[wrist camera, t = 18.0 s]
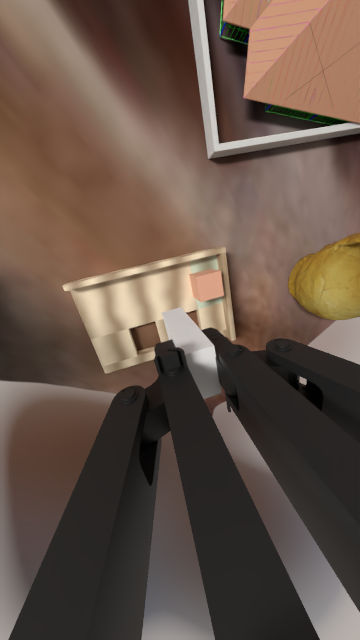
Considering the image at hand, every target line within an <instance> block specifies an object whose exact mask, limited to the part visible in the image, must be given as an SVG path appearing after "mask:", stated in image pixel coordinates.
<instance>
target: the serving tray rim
mask: <svg viewBox="0 0 360 640" xmlns="http://www.w3.org/2000/svg"><path fill="white" fill-rule="evenodd" d="M188 2H189V10H190V18H191V26H192V34H193V42H194V49H195V57H196V65H197V73H198V81H199V89H200V97H201V105H202V113H203V121H204V128H205V136H206V144H207V152H208V159H212V158H218V157H223V156H229V155H235V154H241V153H247V152H253V151H259V150H264V149H270V148H276V147H282V146H288V145H294V144H300V143H305V142H311V141H317V140H323V139H329V138H335V137H340V136H346V135H352V134H358V133H360V124H359V123H355V122H352V123H345V124H339V125H333V126H327V127H320V128H314V129H308V130H302V131H296V132H289V133H283V134H277V135H271V136H265V137H258V138H252V139H246V140H240V141H233V142H227V143H221V144H219V141H218V131H217V122H216V113H215V103H214V94H213V85H212V76H211V66H210V57H209V48H208V39H207V29H206V20H205V11H204V1H203V0H188Z"/></svg>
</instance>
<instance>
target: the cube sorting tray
mask: <svg viewBox="0 0 360 640" xmlns="http://www.w3.org/2000/svg"><path fill="white" fill-rule="evenodd" d="M208 269H215V270H220V271H221V276H222V284H223V292H224V296H221V297H217V298H214V299H210V300H206V301H203V302H200V301H198V300H197V299H196V298H194V297H193V293H192V287H191V282H190V277H189V274H192V273H196V272H200V271H204V270H208ZM63 288H64V291H68V290H70V292H71V294H72V297H73V299H74V301H75V304H76V306H77V308H78V311H79V313H80V315H81V318H82V320H83V322H84V325H85V327H86V330H87V332H88V334H89V337H90V339H91V341H92V344H93V346H94V348H95V351H96V353H97V355H98V358H99V360H100V362H101V365H102V367H103V369H104V372H105V374H107V373H110V372H114V371H117V370H120V369H123V368H127V367H130V366H133V365H136V364H140V363H143V362H146V361H149V360H153V359H154V358H155V351H154V348H155V346H153V347H149V348H146V349H143V350H139V351H137V348H136V345H135V342H134V339H133V336H132V333H131V330H130V328H133V327H137V326H140V325H144V324H147V323H151V322H156V326H157V329H158V333H159V337H160V340H161V342H165V341H168V340H169V338H168V335H167V331H166V327H165V323H164V319H163V315H162V312H165V311H169V310H173V309H176V308H180V307H181V308H182V309H183V310H184V311H185V312H186V313H187V312H190V311H194V310H196V314H197V320H198V325H199V329H200V330H203V329H206V328H210V327H211V328H214V329H217V330H218V331H219V332H220V333H221V334H223V335H224V336H225V337H228V338H229V339H230V340H232V341H233V340H236V336H235V328H234V319H233V311H232V302H231V294H230V285H229V276H228V268H227V259H226V251H225V247H215V248H211V249H207V250H202V251H198V252H194V253H190V254H186V255H181V256H177V257H173V258H169V259H164V260H160V261H156V262H152V263H148V264H143V265H139V266H135V267H131V268H127V269H122V270H118V271H114V272H110V273H105V274H101V275H97V276H93V277H89V278H84V279H80V280H76V281H72V282H69V283H67V284H65V285H63Z"/></svg>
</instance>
